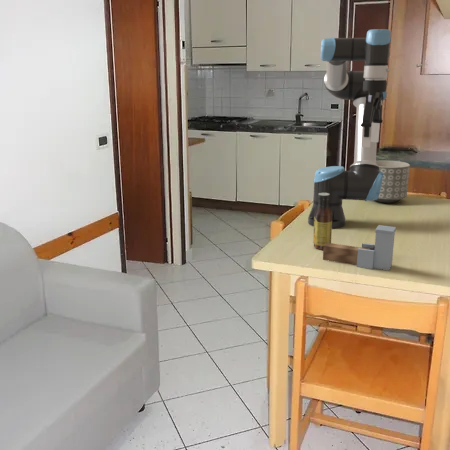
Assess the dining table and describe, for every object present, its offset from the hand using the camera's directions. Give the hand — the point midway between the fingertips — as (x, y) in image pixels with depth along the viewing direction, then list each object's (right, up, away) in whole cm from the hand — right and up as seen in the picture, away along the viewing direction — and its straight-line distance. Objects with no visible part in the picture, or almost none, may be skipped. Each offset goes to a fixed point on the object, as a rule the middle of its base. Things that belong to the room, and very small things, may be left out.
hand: (370, 144), depth 180 cm
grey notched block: (-1, -40, -7) cm, 41 cm away
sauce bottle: (-15, -36, +10) cm, 40 cm away
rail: (-9, -39, -4) cm, 41 cm away
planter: (+28, -16, +76) cm, 83 cm away
